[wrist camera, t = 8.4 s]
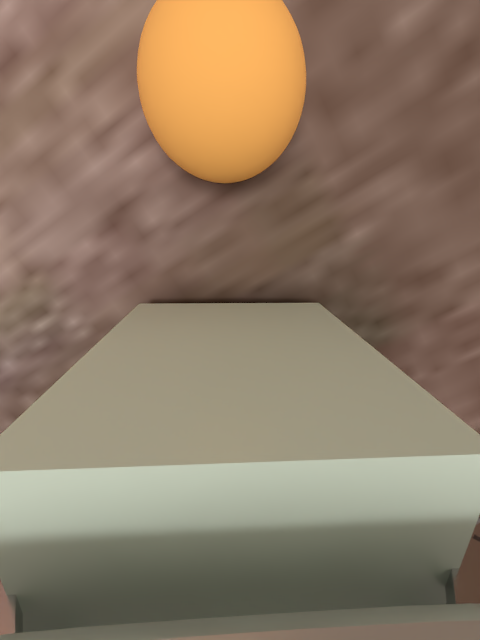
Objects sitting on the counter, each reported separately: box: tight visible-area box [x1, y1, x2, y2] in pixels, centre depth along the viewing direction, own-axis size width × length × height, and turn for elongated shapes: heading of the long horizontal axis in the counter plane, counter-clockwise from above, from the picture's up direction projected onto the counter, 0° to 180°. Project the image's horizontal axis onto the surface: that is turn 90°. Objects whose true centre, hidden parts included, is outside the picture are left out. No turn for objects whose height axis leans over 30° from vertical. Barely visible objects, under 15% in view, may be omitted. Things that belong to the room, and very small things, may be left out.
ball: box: [137, 0, 306, 183], centre depth 9 cm, size 5×5×5 cm
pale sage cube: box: [0, 303, 480, 633], centre depth 10 cm, size 8×8×9 cm
